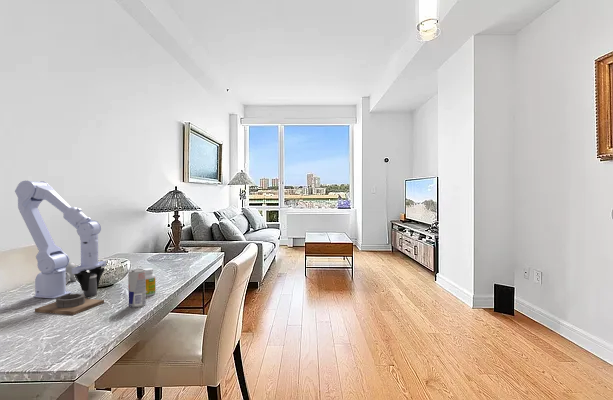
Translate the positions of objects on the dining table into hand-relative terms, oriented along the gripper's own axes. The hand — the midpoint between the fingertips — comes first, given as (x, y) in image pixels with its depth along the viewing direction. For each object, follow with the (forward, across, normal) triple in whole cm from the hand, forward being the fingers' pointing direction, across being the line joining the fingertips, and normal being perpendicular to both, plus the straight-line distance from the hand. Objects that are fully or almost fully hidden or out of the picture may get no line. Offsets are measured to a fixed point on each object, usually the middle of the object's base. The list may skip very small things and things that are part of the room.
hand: (90, 288), depth 140 cm
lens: (+2, 0, 0) cm, 2 cm away
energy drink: (+3, -8, -26) cm, 27 cm away
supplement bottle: (+3, +5, -21) cm, 22 cm away
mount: (+2, -14, -5) cm, 15 cm away
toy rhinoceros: (+3, +15, +25) cm, 29 cm away
